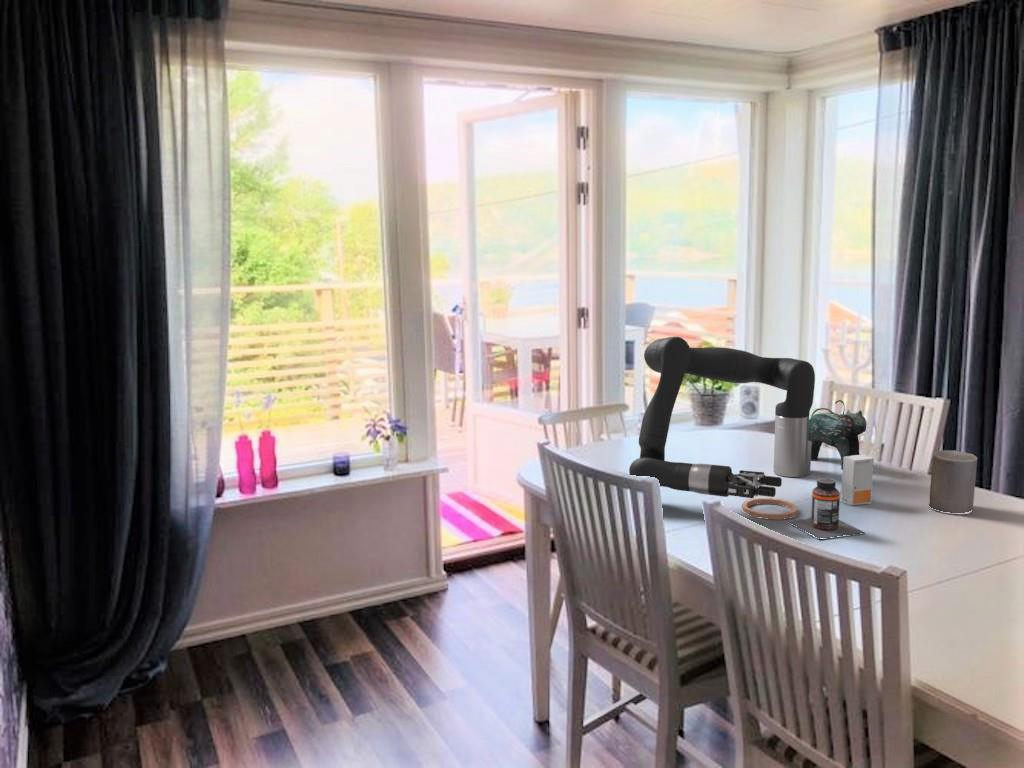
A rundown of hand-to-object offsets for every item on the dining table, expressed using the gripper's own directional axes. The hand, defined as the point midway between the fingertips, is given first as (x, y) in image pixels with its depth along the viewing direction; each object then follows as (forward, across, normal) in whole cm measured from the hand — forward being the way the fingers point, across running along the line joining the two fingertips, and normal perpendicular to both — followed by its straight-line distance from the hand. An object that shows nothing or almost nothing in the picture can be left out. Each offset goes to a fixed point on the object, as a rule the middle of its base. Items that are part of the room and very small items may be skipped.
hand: (778, 487), depth 189 cm
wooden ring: (-3, +8, +9) cm, 12 cm away
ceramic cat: (+6, +56, +9) cm, 57 cm away
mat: (+11, 0, +9) cm, 14 cm away
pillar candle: (+37, +26, +9) cm, 46 cm away
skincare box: (+16, +22, +9) cm, 29 cm away
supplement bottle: (+11, 0, +8) cm, 14 cm away
